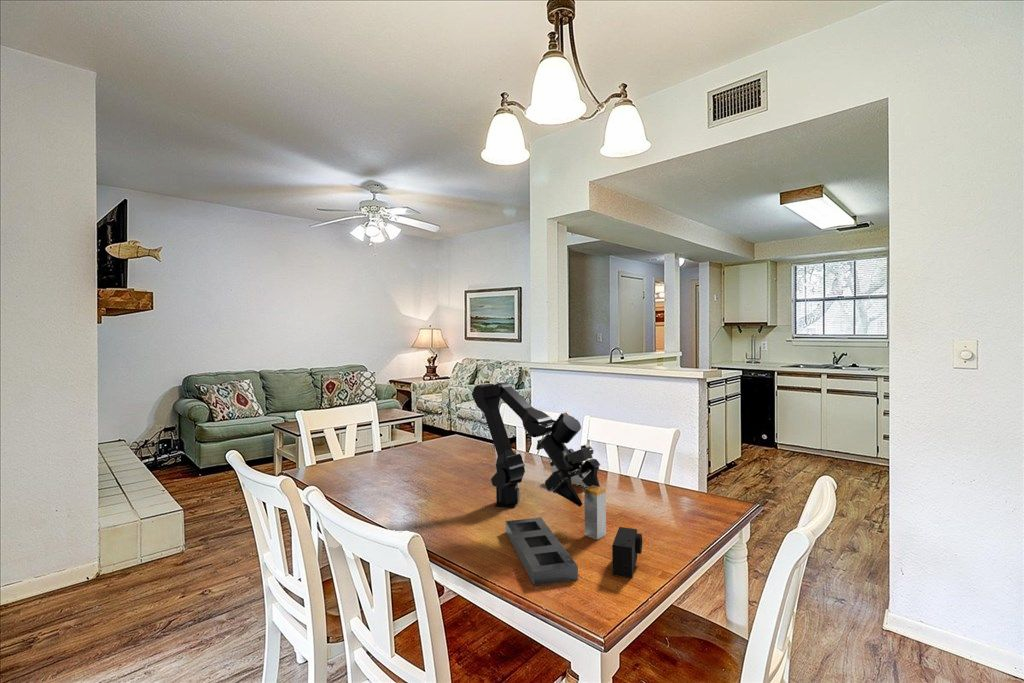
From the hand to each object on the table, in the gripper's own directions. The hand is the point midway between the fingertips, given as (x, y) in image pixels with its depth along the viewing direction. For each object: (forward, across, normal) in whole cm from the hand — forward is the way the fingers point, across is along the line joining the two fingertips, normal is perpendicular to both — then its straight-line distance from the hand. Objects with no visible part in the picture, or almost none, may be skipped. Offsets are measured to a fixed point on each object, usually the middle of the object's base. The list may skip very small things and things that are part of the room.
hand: (591, 501), depth 126 cm
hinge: (-14, +30, +27) cm, 43 cm away
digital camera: (+18, -9, -5) cm, 21 cm away
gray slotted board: (+4, -18, +9) cm, 20 cm away
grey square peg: (+7, 0, +6) cm, 9 cm away
